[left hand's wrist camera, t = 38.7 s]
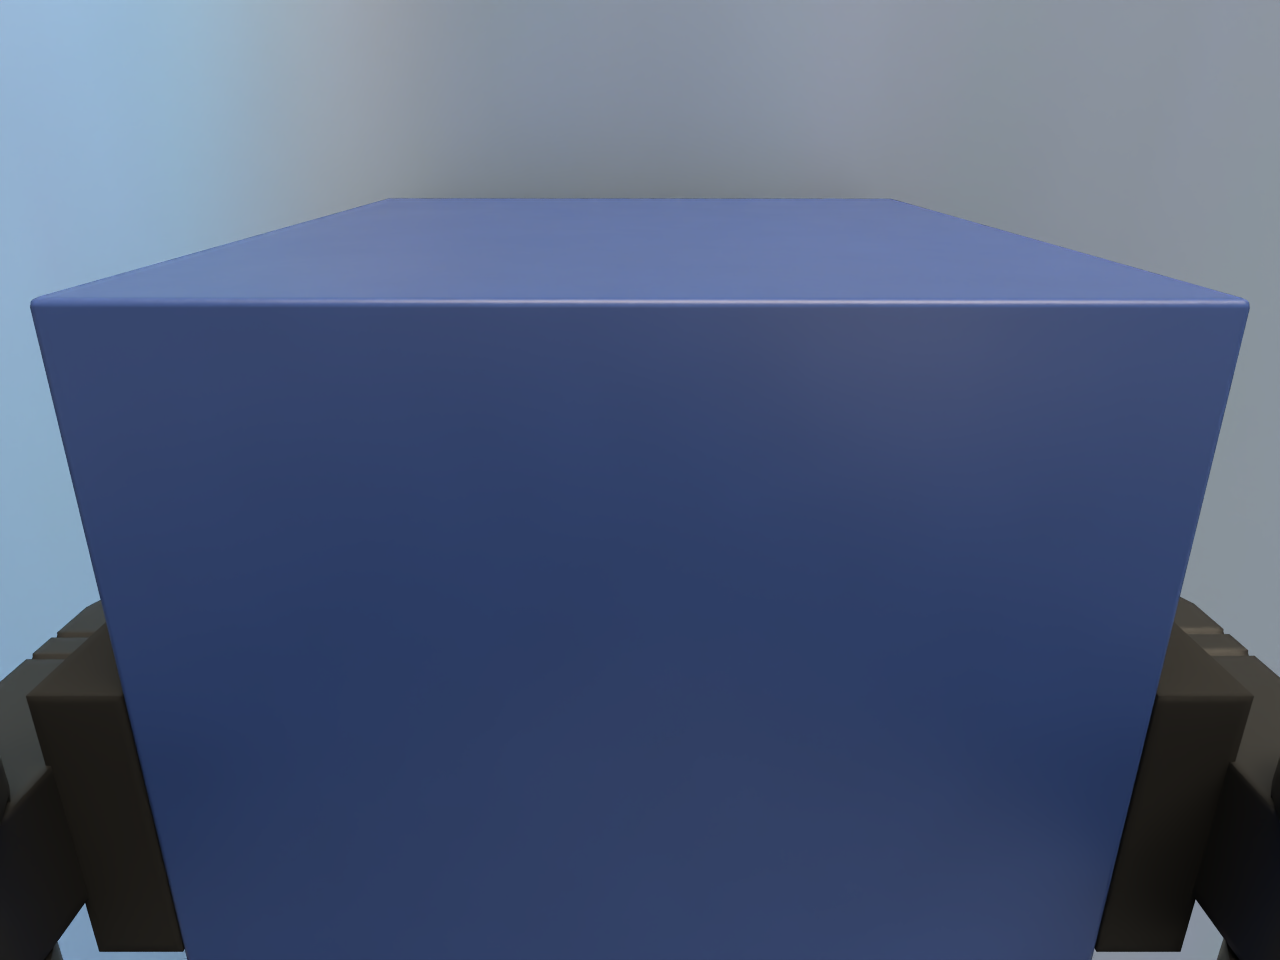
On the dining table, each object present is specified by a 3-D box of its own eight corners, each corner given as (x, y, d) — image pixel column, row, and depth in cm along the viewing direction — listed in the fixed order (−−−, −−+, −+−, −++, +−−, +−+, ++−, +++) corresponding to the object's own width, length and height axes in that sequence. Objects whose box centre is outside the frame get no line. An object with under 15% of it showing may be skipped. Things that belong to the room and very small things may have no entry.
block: (847, 681, 18) (1038, 1191, 9) (432, 680, 18) (240, 1192, 9) (893, 198, 15) (1256, 300, 6) (386, 198, 15) (23, 298, 6)
